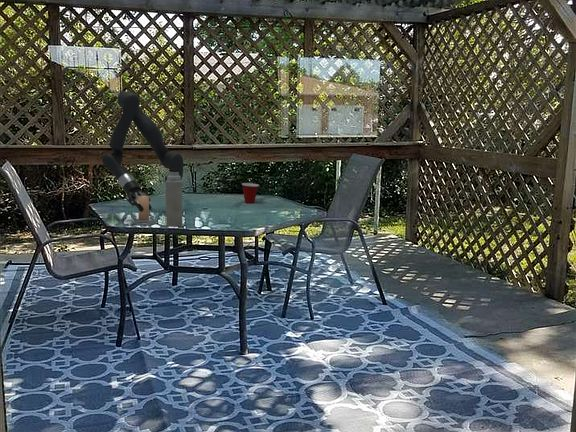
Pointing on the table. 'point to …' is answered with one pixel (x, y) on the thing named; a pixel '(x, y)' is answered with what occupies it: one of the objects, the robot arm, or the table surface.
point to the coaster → (143, 222)
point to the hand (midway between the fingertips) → (146, 209)
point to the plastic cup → (249, 192)
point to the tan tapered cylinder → (145, 204)
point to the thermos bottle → (173, 199)
